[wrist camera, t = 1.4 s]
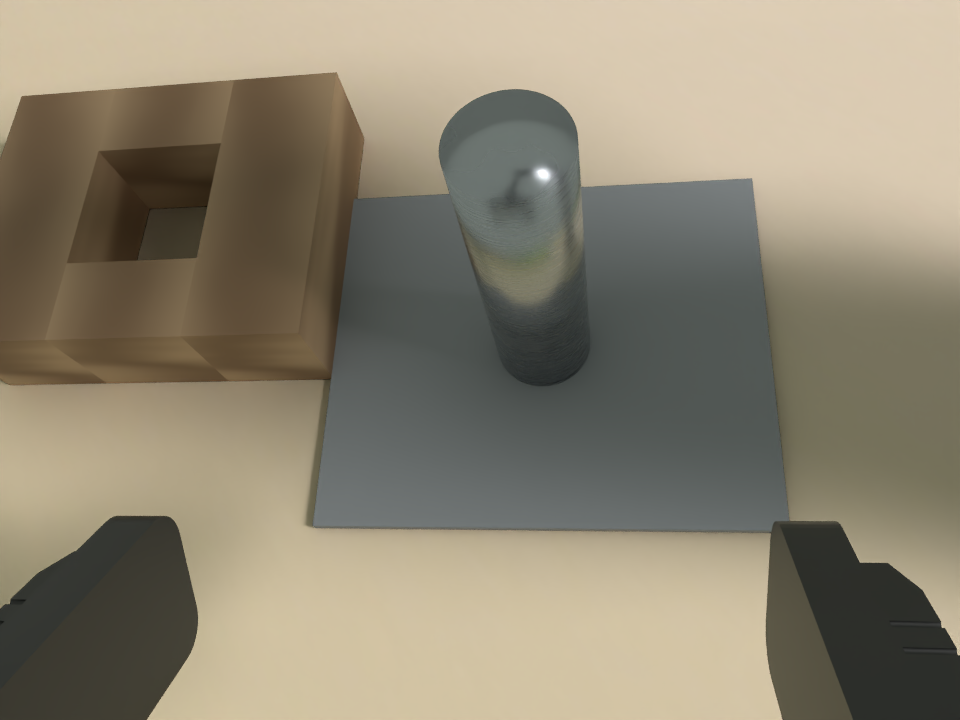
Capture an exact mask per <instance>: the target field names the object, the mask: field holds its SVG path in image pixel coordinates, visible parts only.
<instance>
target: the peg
mask: <svg viewBox="0 0 960 720" xmlns="http://www.w3.org/2000/svg"><path fill="white" fill-rule="evenodd" d="M439 159H440V164H441V167H442V170H443V174H444V177H445V180H446V184H447V187H448V190H449V193H450V197H451V200H452V203H453V207H454V210H455V213H456V216H457V220H458V223H459V226H460V230H461V233H462V236H463V239H464V243H465V246H466V249H467V253H468V256H469V259H470V262H471V266H472V269H473V272H474V276H475V279H476V282H477V285H478V289H479V292H480V295H481V299H482V302H483V305H484V308H485V312H486V315H487V318H488V322H489V325H490V328H491V331H492V335H493V338H494V341H495V345H496V348H497V351H498V354H499V358H500V360H501V362H502V364H503V366H504V367H505V369H506V370H507V371H508V372H509V373H510V374H511V375H512V376H513V377H514V378H516V379H518V380H519V381H521V382H524V383H526V384H530V385H534V386H550V385H555V384H558V383H561V382H564V381H566V380H568V379H569V378H571V377H572V376H573V375H575V374H576V373H577V372H578V371H579V370H580V369H581V368H582V366H583V365H584V363H585V361H586V360H587V357H588V354H589V351H590V326H589V310H588V294H587V278H586V262H585V246H584V229H583V213H582V197H581V181H580V165H579V149H578V135H577V129H576V126H575V123H574V121H573V119H572V117H571V116H570V114H569V113H568V111H567V110H566V109H565V108H564V107H563V106H562V105H561V104H559V103H558V102H557V101H555V100H554V99H552V98H550V97H548V96H546V95H544V94H541V93H538V92H534V91H529V90H520V89H512V90H502V91H497V92H492V93H489V94H486V95H483V96H481V97H479V98H477V99H475V100H473V101H471V102H470V103H468V104H467V105H465V106H464V107H463V108H461V109H460V110H459V111H458V112H457V113H456V114H455V115H454V116H453V117H452V119H451V120H450V121H449V123H448V124H447V126H446V127H445V129H444V131H443V134H442V137H441V140H440V145H439Z"/></svg>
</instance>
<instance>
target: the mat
mask: <svg viewBox="0 0 960 720" xmlns="http://www.w3.org/2000/svg"><path fill="white" fill-rule="evenodd" d="M581 197H582V213H583V229H584V246H585V262H586V278H587V294H588V310H589V326H590V351H589V354H588V357H587V360H586V361H585V363H584V365H583V366H582V368H581V369H580V370H579V371H578V372H577V373H576V374H575V375H573V376H572V377H571V378H569V379H568V380H566V381H564V382H561V383H558V384H555V385H550V386H534V385H530V384H526V383H524V382H521V381H519V380H518V379H516V378H514V377H513V376H512V375H511V374H510V373H509V372H508V371H507V370H506V369H505V367H504V366H503V364H502V362H501V360H500V358H499V354H498V351H497V348H496V345H495V341H494V338H493V335H492V331H491V328H490V325H489V322H488V318H487V315H486V312H485V308H484V305H483V302H482V299H481V295H480V292H479V289H478V285H477V282H476V279H475V276H474V272H473V269H472V266H471V262H470V259H469V256H468V253H467V249H466V246H465V243H464V239H463V236H462V233H461V230H460V226H459V223H458V220H457V216H456V213H455V210H454V207H453V203H452V200H451V197H450V194H442V195H422V196H403V197H383V198H364V199H354V201H353V209H352V217H351V225H350V233H349V241H348V249H347V257H346V265H345V273H344V281H343V289H342V297H341V304H340V312H339V320H338V328H337V336H336V344H335V352H334V360H333V368H332V376H331V384H330V392H329V400H328V408H327V416H326V424H325V432H324V440H323V447H322V455H321V463H320V471H319V479H318V487H317V495H316V503H315V511H314V519H313V526H314V527H315V528H360V529H457V530H554V531H650V532H747V533H771V531H772V526H773V523H774V522H775V521H789V513H788V504H787V495H786V486H785V477H784V467H783V458H782V449H781V440H780V431H779V422H778V413H777V403H776V394H775V385H774V376H773V367H772V358H771V348H770V339H769V330H768V321H767V312H766V303H765V293H764V284H763V275H762V266H761V257H760V248H759V239H758V229H757V220H756V211H755V202H754V193H753V184H752V178H751V179H732V180H712V181H693V182H674V183H654V184H635V185H616V186H596V187H581Z"/></svg>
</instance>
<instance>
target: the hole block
mask: <svg viewBox="0 0 960 720" xmlns="http://www.w3.org/2000/svg"><path fill="white" fill-rule="evenodd" d="M363 144H364V137H363V134H362V132H361V129H360V127H359V125H358V122H357V120H356V117H355V115H354V113H353V110H352V108H351V106H350V103H349V101H348V98H347V96H346V94H345V91H344V89H343V86H342V84H341V82H340V79H339V77H338V75H337V72H336V73H322V74H309V75H296V76H283V77H270V78H256V79H243V80H230V81H217V82H204V83H190V84H177V85H164V86H151V87H138V88H125V89H111V90H98V91H85V92H72V93H59V94H45V95H32V96H22V97H21V100H20V103H19V106H18V109H17V112H16V115H15V118H14V120H13V123H12V126H11V129H10V132H9V135H8V138H7V141H6V144H5V147H4V150H3V153H2V156H1V159H0V379H1V380H2V381H4V382H6V383H7V384H9V385H30V384H86V383H142V382H198V381H254V380H310V379H331V376H332V368H333V360H334V352H335V344H336V336H337V328H338V320H339V312H340V304H341V297H342V289H343V281H344V273H345V265H346V257H347V249H348V241H349V233H350V225H351V217H352V209H353V201H354V199H357V192H358V184H359V176H360V168H361V160H362V152H363ZM195 206H207V211H206V216H205V220H204V225H203V230H202V234H201V239H200V244H199V249H198V253H197V258H185V259H161V260H137V258H138V254H139V250H140V246H141V241H142V237H143V233H144V229H145V225H146V221H147V217H148V213H149V209H157V208H176V207H195Z"/></svg>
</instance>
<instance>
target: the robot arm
mask: <svg viewBox="0 0 960 720" xmlns="http://www.w3.org/2000/svg"><path fill="white" fill-rule="evenodd" d="M197 626H198V612H197V606H196V602H195V597H194V593H193V589H192V584H191V580H190V576H189V571H188V567H187V563H186V558H185V554H184V550H183V546H182V541H181V537H180V533H179V530H178V527H177V525H176V523H175V522H174V520H172V519H171V518H170V517H167V516H115V517H112V518H110V519H109V520H108V521H107V522H105V523H104V524H103V525H102V526H101V527H100V528H99V529H98V530H97V531H96V532H95V533H94V534H93V535H92V536H91V537H90V538H89V539H88V540H87V541H86V542H85V543H84V544H83V545H82V546H81V547H80V548H79V549H78V550H77V551H74V552H73V553H71V554H69V555H68V556H66V557H64V558H63V559H61V560H59V561H58V562H56V563H54V564H53V565H51V566H49V567H48V568H46V569H44V570H43V571H41V572H39V573H38V574H36V575H35V576H34V577H33V578H32V579H31V580H30V581H29V582H28V583H27V584H26V585H25V586H24V587H23V588H22V589H21V590H20V591H19V592H18V593H17V594H15V595H14V596H13V597H12V598H11V602H10V604H5V605H4V606H3V607H2V608H1V609H0V720H147V718H148V717H149V715H150V714H151V712H152V711H153V709H154V708H155V706H156V705H157V703H158V702H159V700H160V699H161V697H162V696H163V694H164V693H165V691H166V690H167V688H168V687H169V685H170V684H171V682H172V681H173V679H174V678H175V676H176V675H177V673H178V672H179V670H180V669H181V667H182V666H183V664H184V663H185V661H186V660H187V658H188V656H189V655H190V653H191V650H192V648H193V645H194V642H195V638H196V634H197ZM766 646H767V656H768V663H769V669H770V674H771V678H772V682H773V686H774V689H775V693H776V697H777V700H778V704H779V708H780V711H781V715H782V719H783V720H960V655H957V648H956V646H955V645H954V643H953V641H952V640H951V638H950V636H949V634H948V633H947V631H946V629H945V628H942V627H941V621H940V619H939V618H938V616H937V614H936V612H935V611H934V609H933V607H932V606H931V604H930V602H929V601H928V599H927V597H926V596H925V594H924V592H923V590H921V589H920V588H919V587H918V586H916V585H915V584H914V583H913V582H911V581H910V580H909V579H907V578H906V577H905V576H904V575H902V574H901V573H900V572H899V571H897V570H896V569H895V568H893V567H892V566H891V565H890V564H888V563H860V562H859V560H858V558H857V556H856V554H855V552H854V550H853V548H852V546H851V544H850V542H849V540H848V538H847V536H846V534H845V532H844V530H843V528H842V527H841V525H840V524H839V523H838V522H836V521H775V522H774V523H773V526H772V531H771V540H770V558H769V576H768V594H767V611H766Z"/></svg>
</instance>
